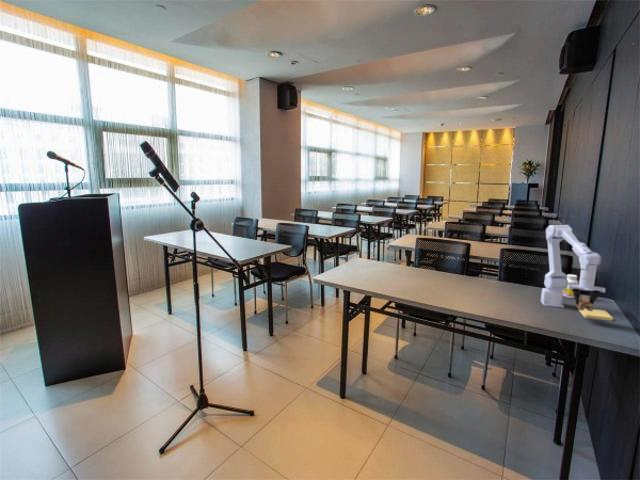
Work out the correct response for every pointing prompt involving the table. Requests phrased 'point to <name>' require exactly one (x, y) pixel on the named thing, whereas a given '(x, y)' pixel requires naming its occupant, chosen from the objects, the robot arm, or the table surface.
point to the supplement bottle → (571, 281)
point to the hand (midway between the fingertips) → (583, 304)
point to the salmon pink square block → (584, 299)
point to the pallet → (585, 305)
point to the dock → (596, 314)
